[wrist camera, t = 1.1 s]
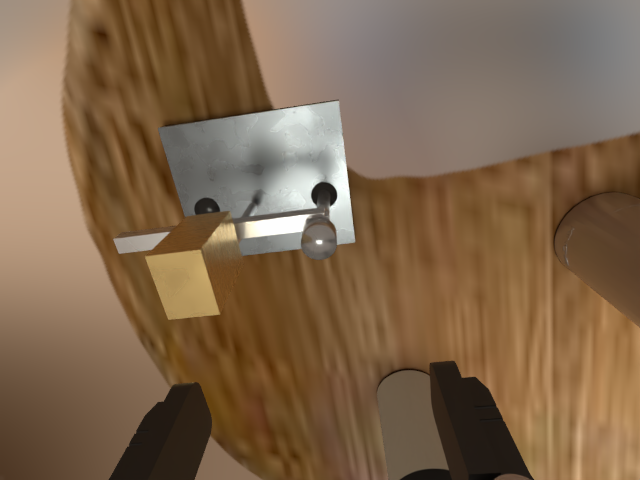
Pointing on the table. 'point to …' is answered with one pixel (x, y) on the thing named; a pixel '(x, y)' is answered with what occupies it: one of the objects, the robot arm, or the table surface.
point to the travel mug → (410, 428)
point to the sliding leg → (197, 264)
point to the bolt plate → (262, 179)
